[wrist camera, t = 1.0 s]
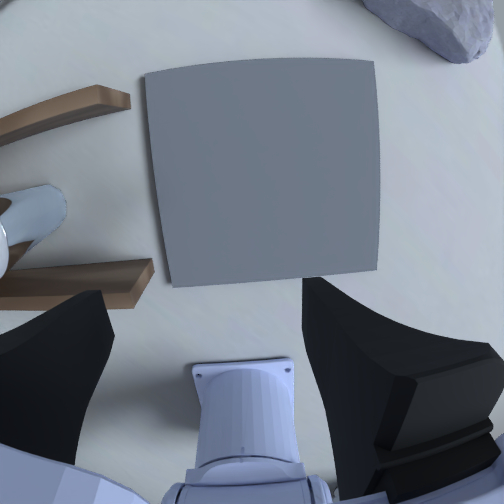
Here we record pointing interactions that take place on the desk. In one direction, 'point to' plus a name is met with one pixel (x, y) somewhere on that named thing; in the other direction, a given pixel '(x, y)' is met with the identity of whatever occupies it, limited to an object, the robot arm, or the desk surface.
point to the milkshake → (28, 221)
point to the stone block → (441, 24)
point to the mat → (266, 168)
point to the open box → (73, 276)
